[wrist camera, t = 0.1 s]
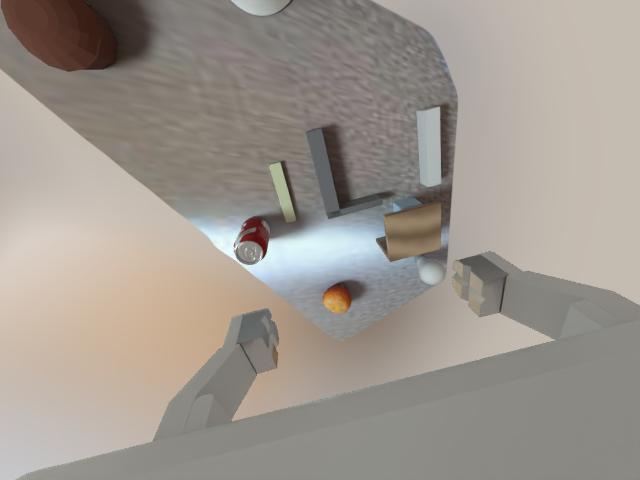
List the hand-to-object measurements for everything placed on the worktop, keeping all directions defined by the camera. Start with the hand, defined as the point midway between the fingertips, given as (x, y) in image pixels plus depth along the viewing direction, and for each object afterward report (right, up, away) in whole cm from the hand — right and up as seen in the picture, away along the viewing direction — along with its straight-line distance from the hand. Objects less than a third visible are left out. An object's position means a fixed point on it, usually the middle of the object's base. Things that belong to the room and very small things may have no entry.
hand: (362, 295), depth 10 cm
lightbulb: (+26, -2, +58) cm, 64 cm away
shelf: (+18, +8, +52) cm, 55 cm away
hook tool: (+4, +19, +45) cm, 49 cm away
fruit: (+3, -13, +61) cm, 62 cm away
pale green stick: (-10, +13, +46) cm, 49 cm away
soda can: (-18, +5, +49) cm, 53 cm away
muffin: (-41, +37, +31) cm, 63 cm away
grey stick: (+22, +24, +45) cm, 55 cm away
